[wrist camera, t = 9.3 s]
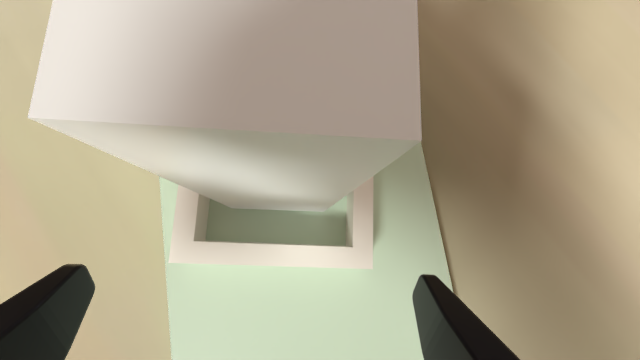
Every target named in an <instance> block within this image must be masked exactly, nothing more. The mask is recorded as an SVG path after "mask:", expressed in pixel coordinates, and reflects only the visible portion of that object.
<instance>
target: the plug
mask: <svg viewBox="0 0 640 360" xmlns="http://www.w3.org/2000/svg"><path fill="white" fill-rule="evenodd" d="M28 118H29V119H32V120H34V121H36V122H38V123H41V124H43V125H45V126H47V127H50V128H52V129H54V130H56V131H59V132H61V133H63V134H65V135H68V136H70V137H72V138H74V139H77V140H79V141H81V142H83V143H86V144H88V145H90V146H93V147H95V148H97V149H99V150H102V151H104V152H106V153H108V154H111V155H113V156H115V157H117V158H120V159H122V160H124V161H126V162H129V163H131V164H133V165H135V166H138V167H140V168H142V169H144V170H147V171H149V172H151V173H153V174H156V175H158V176H160V177H162V178H165V179H167V180H169V181H171V182H174V183H176V184H178V185H180V186H183V187H185V188H187V189H189V190H192V191H194V192H196V193H198V194H201V195H203V196H205V197H207V198H210V199H212V200H214V201H216V202H219V203H221V204H223V205H225V206H228V207H230V208H234V209H261V210H288V211H315V212H324V211H325V210H327V209H328V208H330V207H331V206H332V205H334V204H335V203H336V202H338V201H339V200H341V199H342V198H343V197H345V196H346V195H348V194H349V193H350V192H352V191H353V190H355V189H356V188H357V187H359V186H360V185H361V184H363V183H364V182H366V181H367V180H368V179H370V178H371V177H373V176H374V175H375V174H377V173H378V172H379V171H381V170H382V169H384V168H385V167H386V166H388V165H389V164H391V163H392V162H393V161H395V160H396V159H397V158H399V157H400V156H402V155H403V154H404V153H406V152H407V151H409V150H410V149H411V148H413V147H414V146H415V145H417V144H418V143H420V142H421V141H422V129H421V98H420V67H419V36H418V5H417V0H53V3H52V7H51V12H50V17H49V21H48V26H47V30H46V35H45V40H44V44H43V49H42V54H41V58H40V63H39V67H38V72H37V77H36V81H35V86H34V91H33V95H32V100H31V105H30V109H29V114H28Z"/></svg>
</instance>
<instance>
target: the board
mask: <svg viewBox="0 0 640 360" xmlns="http://www.w3.org/2000/svg"><path fill="white" fill-rule="evenodd" d="M159 179H160V194H161V209H162V224H163V239H164V254H165V268H166V283H167V298H168V313H169V328H170V343H171V357H172V360H424V358H423V354H422V349H421V344H420V339H419V333H418V328H417V322H416V317H415V311H414V306H413V300H412V294H413V290H414V288H415V285H416V283H417V281H418V278H419V276H420V275H422V274H430V275H435V276H437V277H438V278H439V279H440V280H441V281H442V282H443V283H444V284H445V285H446V286H447V287H448V288H449V289H450V290H451V291H452V292H453V288H452V284H451V279H450V274H449V270H448V265H447V260H446V256H445V251H444V246H443V242H442V237H441V233H440V228H439V223H438V219H437V214H436V209H435V205H434V200H433V195H432V191H431V186H430V182H429V177H428V172H427V168H426V163H425V158H424V154H423V149H422V144H421V142H420V143H418V144H417V145H415V146H414V147H413V148H411V149H410V150H409V151H407V152H406V153H404V154H403V155H402V156H400V157H399V158H397V159H396V160H395V161H393V162H392V163H391V164H389V165H388V166H386V167H385V168H384V169H382V170H381V171H379V172H378V173H377V174H375V175H374V176H373V269H351V268H318V267H286V266H253V265H221V264H189V263H168V262H169V254H170V247H171V239H172V231H173V223H174V215H175V207H176V199H177V191H178V184H176V183H174V182H171V181H169V180H167V179H165V178H162V177H160V176H159ZM346 206H347V195H346V196H345V197H343V198H342V199H341V200H339V201H338V202H336V203H335V204H334V205H332V206H331V207H330V208H328V209H327V210H325V211H324V212H315V211H288V210H261V209H234V208H230V207H228V206H225V205H223V204H221V203H219V202H216V201H214V200H212V199H210V203H209V213H208V222H207V232H206V241H231V242H258V243H285V244H312V245H339V246H346Z"/></svg>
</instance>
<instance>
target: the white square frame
mask: <svg viewBox="0 0 640 360" xmlns="http://www.w3.org/2000/svg"><path fill="white" fill-rule="evenodd" d="M209 203H210V198H207V197H205V196H203V195H201V194H198V193H196V192H194V191H192V190H189V189H187V188H185V187H183V186H180V185H178V191H177V199H176V207H175V215H174V223H173V231H172V239H171V247H170V254H169V262H168V263H189V264H221V265H253V266H286V267H318V268H351V269H373V177H371V178H370V179H368V180H367V181H366V182H364V183H363V184H361V185H360V186H359V187H357V188H356V189H355V190H353V191H352V192H350V193H349V194H348V195H347V206H346V246H339V245H312V244H285V243H258V242H231V241H206V232H207V222H208V213H209Z"/></svg>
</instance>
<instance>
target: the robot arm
mask: <svg viewBox="0 0 640 360" xmlns="http://www.w3.org/2000/svg"><path fill="white" fill-rule="evenodd" d="M94 291H95V284H94V282H93V280H92V278H91V275H90V273H89V271H88V269H87V268H86V266H84V265H82V264H66V265H63V266H61V267H60V268H58V269H57V270H55V271H53V272H52V273H50V274H48V275H47V276H45V277H44V278H42V279H40V280H39V281H37V282H36V283H34V284H32V285H31V286H29V287H27V288H26V289H24V290H23V291H21V292H19V293H18V294H16V295H15V296H13V297H11V298H10V299H8V300H7V301H5V302H3V303H2V304H0V360H65V358H66V356H67V354H68V352H69V350H70V348H71V345H72V343H73V341H74V339H75V336H76V334H77V332H78V329H79V327H80V325H81V322H82V320H83V318H84V315H85V313H86V311H87V308H88V306H89V304H90V301H91V299H92V297H93V294H94ZM412 300H413V306H414V311H415V317H416V322H417V328H418V333H419V339H420V344H421V349H422V354H423V358H424V360H520V359H519V358H518V357H517V356H516V355H515V354H514V353H513V352H512V351H511V350H510V349H509V348H508V347H507V346H506V345H505V344H504V343H503V342H502V341H501V340H500V339H499V338H498V337H497V336H496V335H495V334H494V333H493V332H492V331H491V330H490V329H489V328H488V327H487V326H486V325H485V324H484V323H483V322H482V321H481V320H480V319H479V318H478V317H477V316H476V315H475V314H474V313H473V312H472V311H471V310H470V309H469V308H468V307H467V306H466V305H465V304H464V303H463V302H462V301H461V300H460V299H459V298H458V297H457V296H456V295H455V294H454V293H453V292H452V291H451V290H450V289H449V288H448V287H447V286H446V285H445V284H444V283H443V282H442V281H441V280H440V279H439V278H438V277H437V276H435V275H430V274H422V275H420V276H419V278H418V281H417V283H416V285H415V288H414V290H413V294H412Z"/></svg>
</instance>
